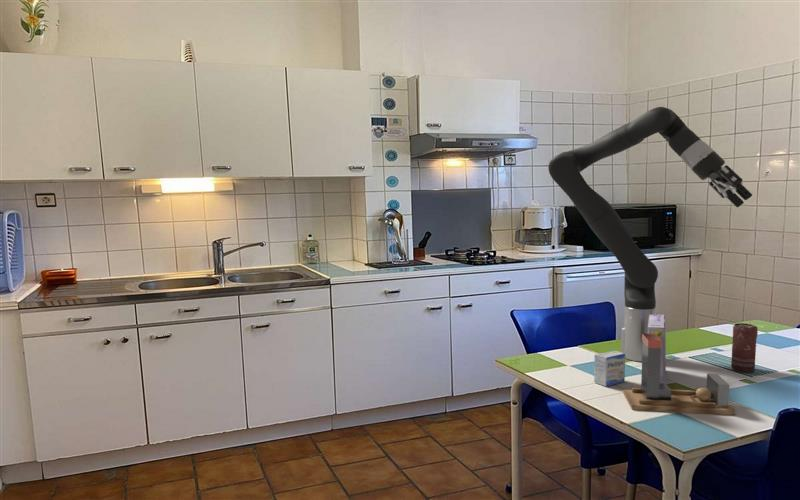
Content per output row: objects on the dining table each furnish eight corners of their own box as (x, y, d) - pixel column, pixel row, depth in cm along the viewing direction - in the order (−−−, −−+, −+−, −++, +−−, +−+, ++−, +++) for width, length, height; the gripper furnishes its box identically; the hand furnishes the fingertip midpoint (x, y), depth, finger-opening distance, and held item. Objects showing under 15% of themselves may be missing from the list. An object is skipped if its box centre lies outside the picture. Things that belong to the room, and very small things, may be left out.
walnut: (692, 400, 144) (693, 387, 143) (699, 397, 146) (700, 384, 145) (706, 404, 141) (707, 391, 140) (713, 401, 143) (714, 388, 142)
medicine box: (605, 387, 157) (606, 357, 156) (593, 382, 161) (594, 353, 160) (625, 382, 161) (625, 353, 160) (612, 377, 165) (613, 349, 164)
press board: (632, 409, 141) (632, 401, 141) (623, 393, 152) (623, 386, 152) (734, 415, 137) (735, 406, 137) (718, 398, 148) (718, 390, 147)
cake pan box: (647, 367, 173) (649, 311, 171) (665, 369, 171) (667, 313, 169) (645, 387, 156) (647, 326, 154) (665, 390, 154) (667, 328, 152)
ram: (646, 400, 143) (648, 340, 141) (640, 391, 149) (642, 333, 147) (671, 401, 142) (673, 340, 140) (664, 392, 148) (666, 334, 146)
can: (759, 373, 165) (761, 328, 164) (735, 372, 167) (738, 327, 165) (750, 367, 171) (753, 323, 170) (728, 366, 173) (730, 322, 171)
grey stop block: (717, 407, 139) (718, 384, 138) (706, 395, 147) (707, 373, 146) (728, 407, 138) (729, 384, 138) (716, 395, 146) (717, 373, 145)
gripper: (686, 175, 165) (727, 215, 160) (695, 160, 151) (739, 204, 146) (708, 158, 163) (749, 199, 158) (718, 142, 150) (764, 186, 145)
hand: (744, 201), depth 152 cm, fingers open, 8 cm apart
